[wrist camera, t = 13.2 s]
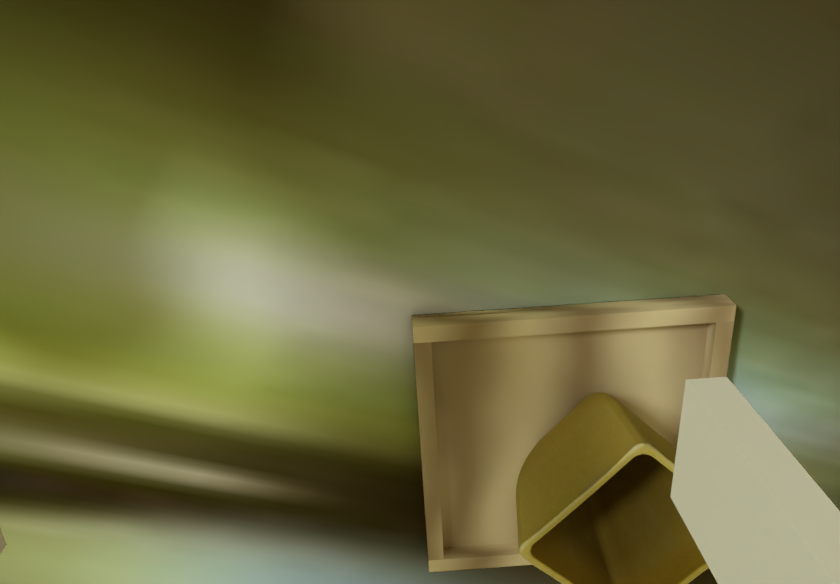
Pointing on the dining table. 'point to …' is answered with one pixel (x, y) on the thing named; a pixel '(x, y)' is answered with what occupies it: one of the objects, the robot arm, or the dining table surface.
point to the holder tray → (541, 399)
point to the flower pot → (604, 502)
